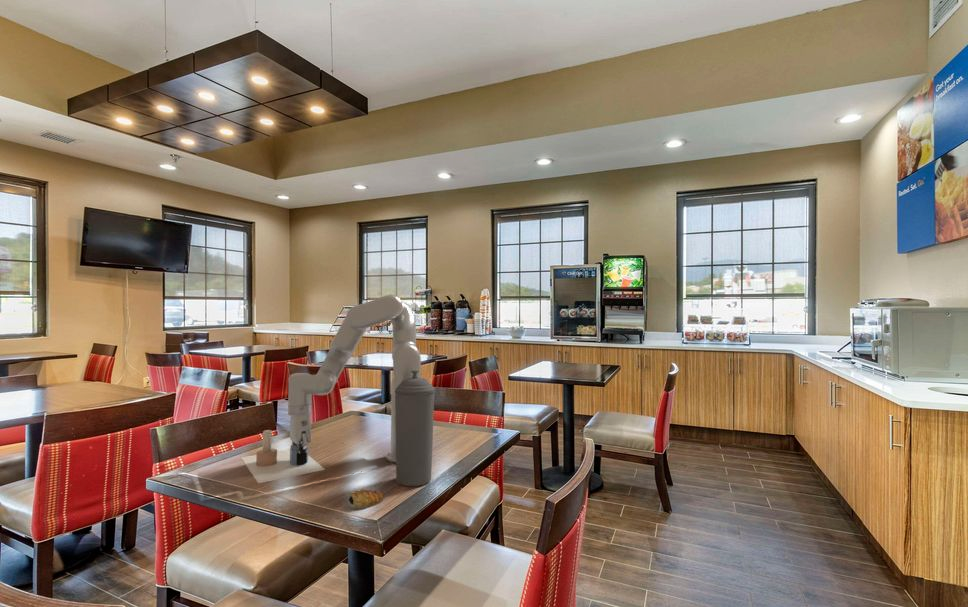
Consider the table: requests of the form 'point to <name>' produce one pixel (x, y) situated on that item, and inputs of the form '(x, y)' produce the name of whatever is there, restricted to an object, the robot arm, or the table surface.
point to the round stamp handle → (266, 451)
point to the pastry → (364, 498)
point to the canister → (414, 430)
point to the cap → (295, 454)
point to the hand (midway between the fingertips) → (299, 461)
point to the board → (279, 467)
